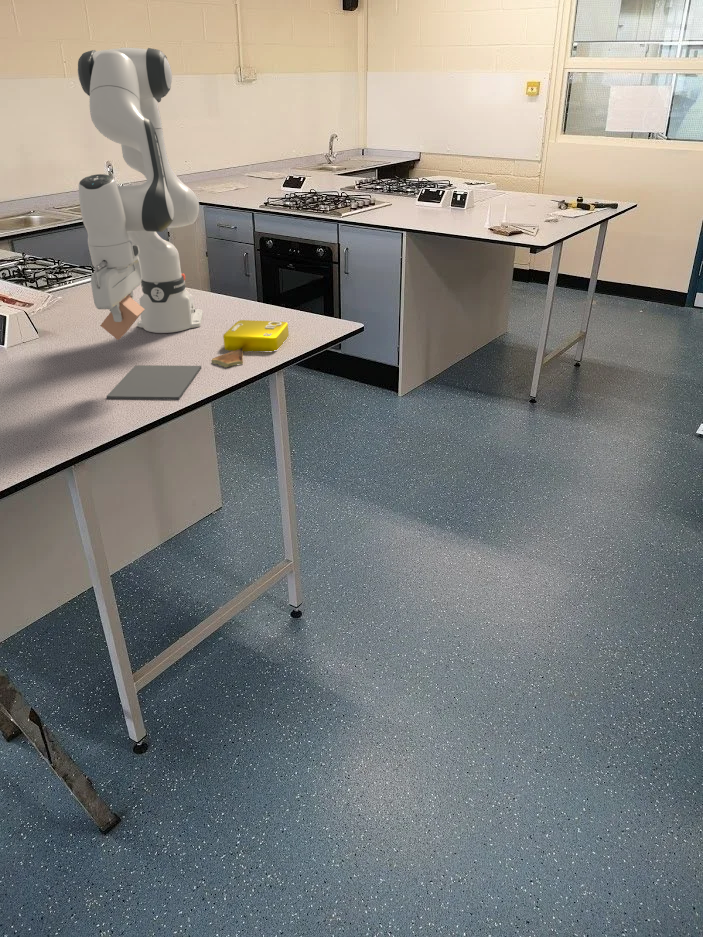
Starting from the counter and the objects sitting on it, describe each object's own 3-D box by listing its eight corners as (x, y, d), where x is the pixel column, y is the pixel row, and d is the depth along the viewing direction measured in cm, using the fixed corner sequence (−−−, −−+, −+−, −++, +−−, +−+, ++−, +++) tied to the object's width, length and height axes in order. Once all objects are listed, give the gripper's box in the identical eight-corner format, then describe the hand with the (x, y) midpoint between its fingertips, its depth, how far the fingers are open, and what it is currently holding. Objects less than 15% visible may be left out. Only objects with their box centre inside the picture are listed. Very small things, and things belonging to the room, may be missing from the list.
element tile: (239, 334, 207) (238, 317, 205) (290, 336, 204) (289, 319, 202) (222, 351, 194) (220, 334, 192) (276, 354, 191) (275, 336, 189)
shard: (242, 353, 193) (241, 346, 192) (262, 359, 189) (261, 352, 188) (210, 364, 186) (209, 357, 185) (230, 370, 181) (229, 364, 181)
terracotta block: (108, 318, 169) (127, 294, 166) (126, 332, 170) (144, 309, 167) (100, 325, 165) (119, 301, 161) (118, 340, 166) (137, 316, 163)
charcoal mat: (135, 367, 183) (135, 365, 183) (201, 368, 182) (201, 365, 182) (106, 398, 166) (106, 396, 166) (179, 399, 165) (179, 397, 164)
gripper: (107, 267, 150) (121, 331, 157) (141, 244, 167) (152, 302, 174) (78, 268, 150) (93, 331, 157) (114, 244, 168) (126, 302, 175)
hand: (124, 316), depth 166 cm, fingers closed on terracotta block, 5 cm apart
